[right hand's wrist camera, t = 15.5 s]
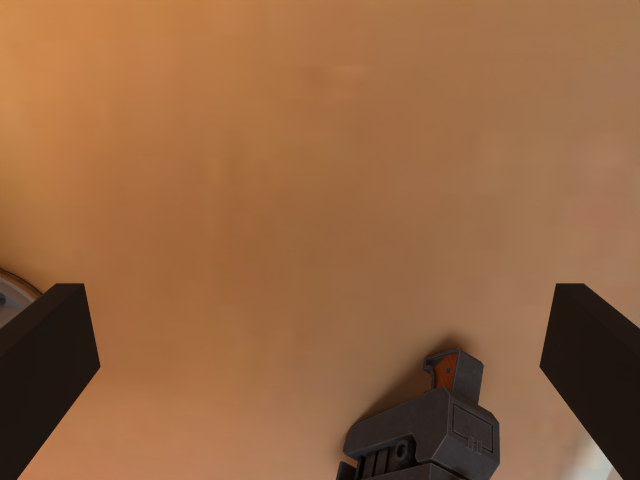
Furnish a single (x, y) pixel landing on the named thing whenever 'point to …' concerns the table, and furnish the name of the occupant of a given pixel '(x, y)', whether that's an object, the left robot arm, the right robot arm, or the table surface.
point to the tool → (430, 430)
